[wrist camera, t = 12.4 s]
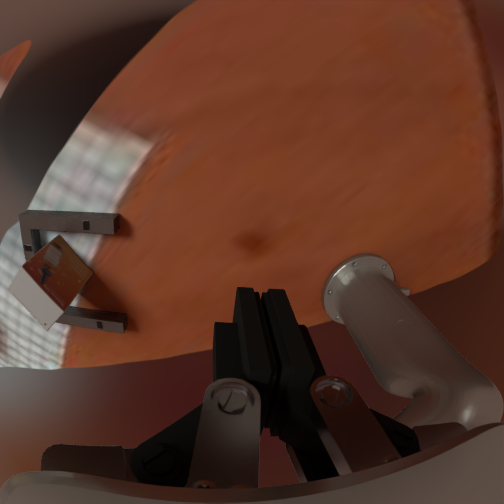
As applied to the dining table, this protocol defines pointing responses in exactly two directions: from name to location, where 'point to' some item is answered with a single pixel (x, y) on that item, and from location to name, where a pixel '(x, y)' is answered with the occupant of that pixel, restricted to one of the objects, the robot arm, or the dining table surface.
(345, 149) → the dining table surface
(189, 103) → the dining table surface
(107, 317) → the socket frame
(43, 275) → the small box
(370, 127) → the dining table surface
